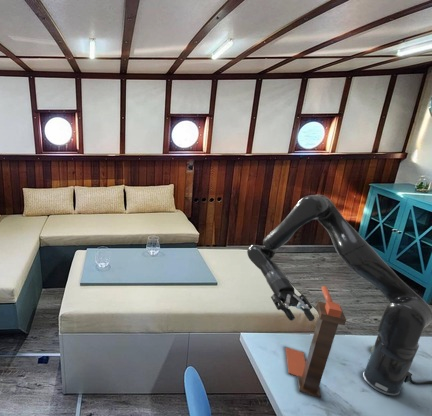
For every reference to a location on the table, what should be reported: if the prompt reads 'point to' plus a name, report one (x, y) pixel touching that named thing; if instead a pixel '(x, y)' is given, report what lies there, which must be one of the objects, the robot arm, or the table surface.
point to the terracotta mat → (295, 362)
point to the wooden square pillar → (319, 351)
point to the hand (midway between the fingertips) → (302, 319)
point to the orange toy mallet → (331, 304)
